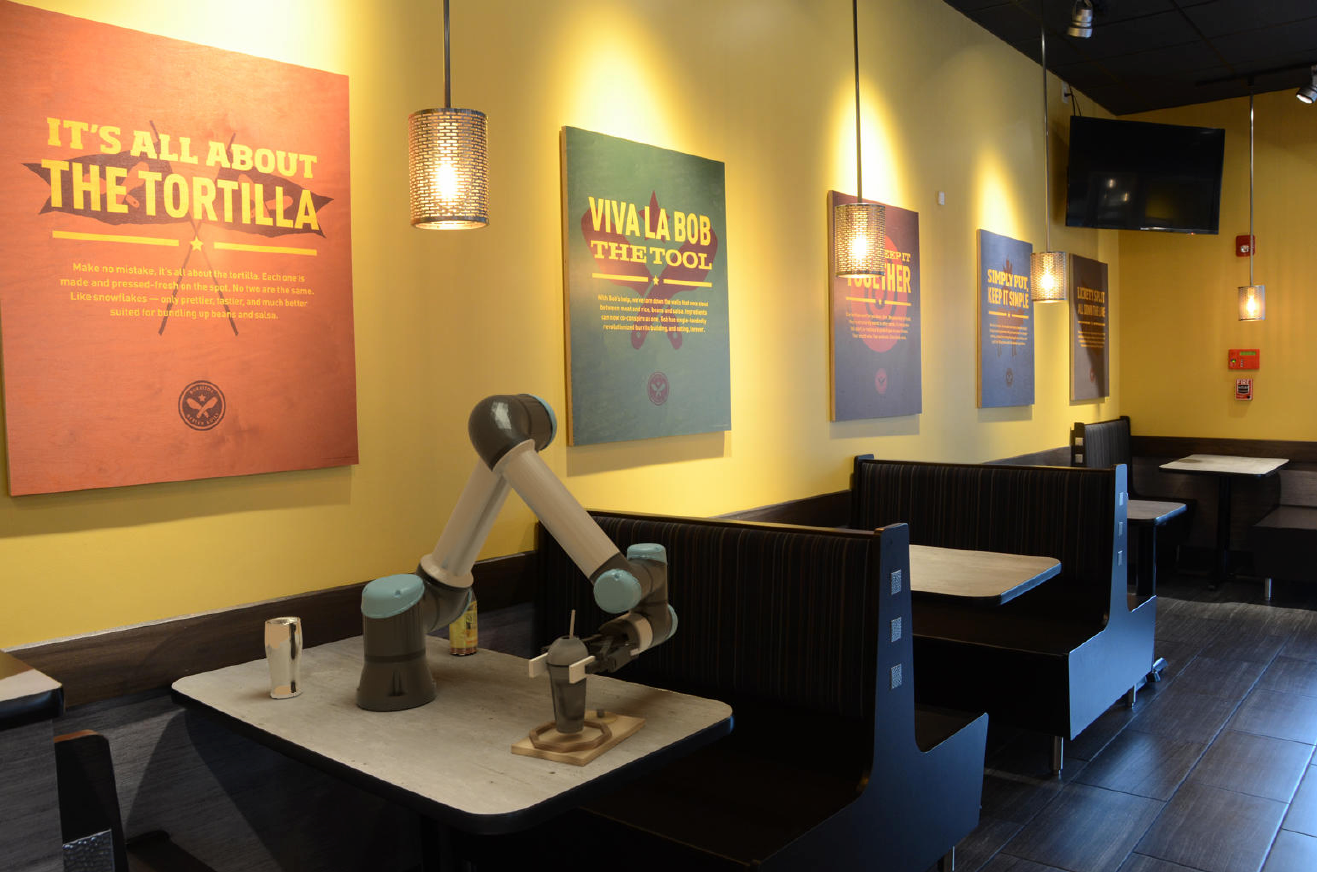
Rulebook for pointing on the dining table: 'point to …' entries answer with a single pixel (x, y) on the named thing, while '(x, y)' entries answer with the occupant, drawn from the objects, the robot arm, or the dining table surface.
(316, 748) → the dining table surface
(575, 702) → the beverage cup
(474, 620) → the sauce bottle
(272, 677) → the beer glass
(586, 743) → the board
